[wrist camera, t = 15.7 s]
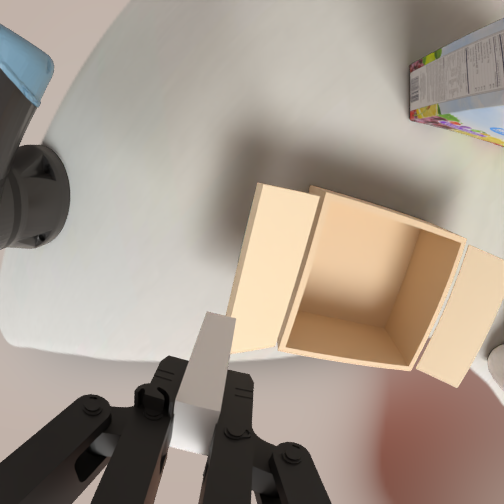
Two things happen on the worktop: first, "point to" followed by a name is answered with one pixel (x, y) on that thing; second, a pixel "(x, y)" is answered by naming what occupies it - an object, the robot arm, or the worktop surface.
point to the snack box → (463, 85)
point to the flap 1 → (269, 264)
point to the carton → (368, 284)
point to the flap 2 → (465, 317)
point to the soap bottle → (497, 365)
